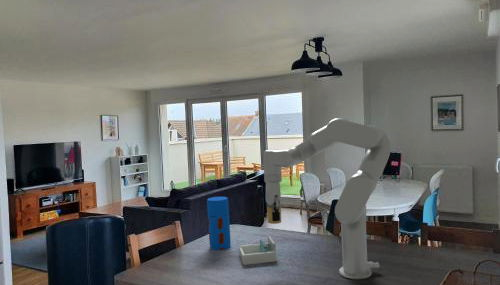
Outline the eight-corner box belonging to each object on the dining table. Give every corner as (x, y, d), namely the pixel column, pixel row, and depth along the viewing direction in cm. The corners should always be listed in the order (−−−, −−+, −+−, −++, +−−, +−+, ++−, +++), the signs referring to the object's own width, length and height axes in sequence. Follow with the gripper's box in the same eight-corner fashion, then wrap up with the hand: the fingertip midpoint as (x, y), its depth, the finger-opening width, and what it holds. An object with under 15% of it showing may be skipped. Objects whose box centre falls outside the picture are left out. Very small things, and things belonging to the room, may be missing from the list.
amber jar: (279, 219, 173) (279, 201, 172) (283, 223, 166) (282, 204, 166) (266, 220, 172) (265, 202, 171) (269, 224, 165) (268, 205, 165)
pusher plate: (263, 250, 185) (262, 239, 184) (267, 258, 174) (267, 246, 174) (260, 251, 185) (259, 239, 184) (264, 258, 174) (264, 246, 173)
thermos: (211, 251, 192) (208, 201, 190) (208, 245, 202) (205, 198, 201) (233, 248, 194) (230, 199, 193) (228, 242, 205) (225, 195, 204)
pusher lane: (270, 251, 187) (269, 235, 186) (276, 261, 173) (275, 244, 173) (239, 254, 185) (238, 238, 184) (243, 265, 171) (242, 247, 170)
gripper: (260, 175, 176) (262, 215, 177) (268, 181, 159) (270, 224, 160) (276, 174, 177) (278, 213, 178) (286, 180, 160) (287, 223, 161)
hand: (274, 218), depth 169 cm, fingers closed on amber jar, 6 cm apart
